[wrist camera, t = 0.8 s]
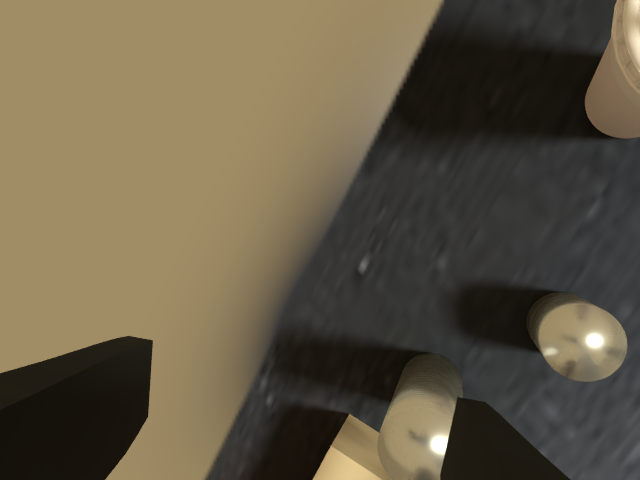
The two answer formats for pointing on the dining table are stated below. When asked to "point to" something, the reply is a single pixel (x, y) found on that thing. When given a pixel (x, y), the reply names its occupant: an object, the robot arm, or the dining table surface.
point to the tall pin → (420, 419)
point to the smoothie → (618, 77)
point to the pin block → (353, 454)
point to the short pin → (576, 336)
